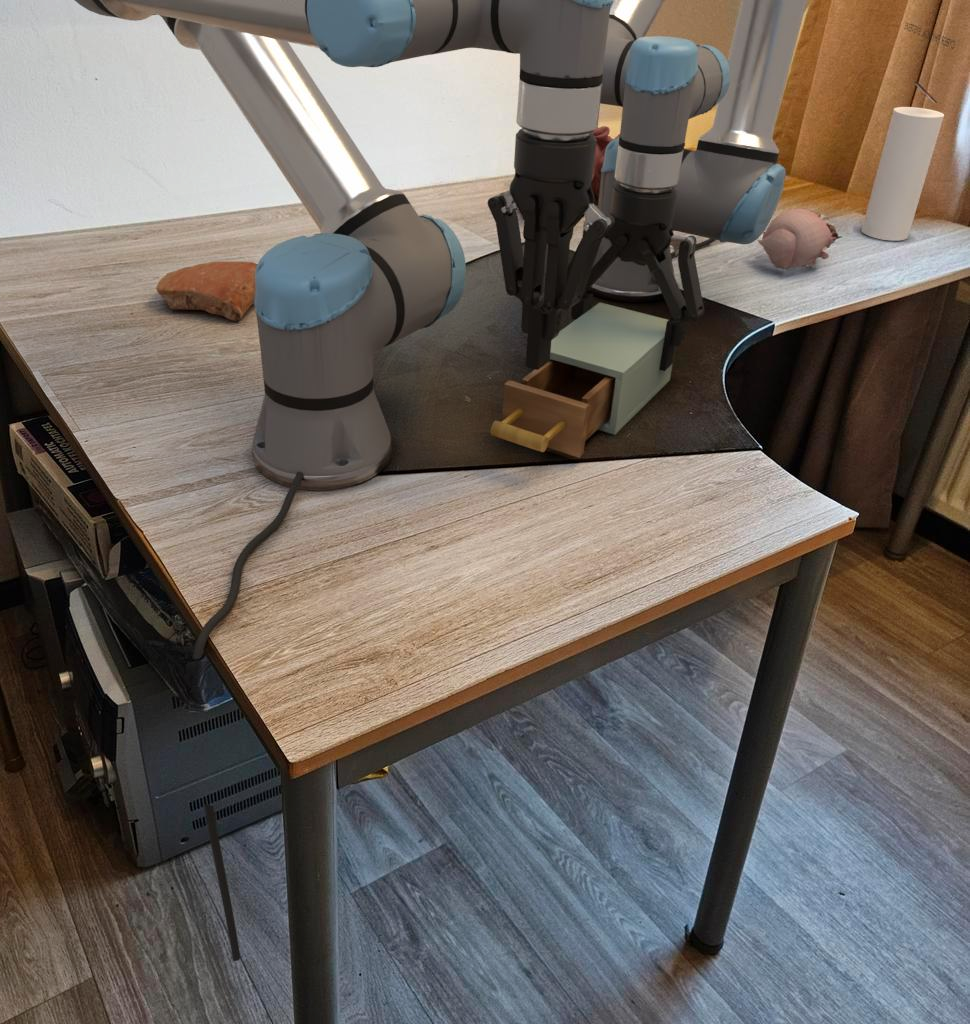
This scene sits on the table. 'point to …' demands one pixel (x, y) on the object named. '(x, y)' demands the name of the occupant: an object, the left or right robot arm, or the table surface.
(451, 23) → the left robot arm
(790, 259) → the toy
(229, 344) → the table surface
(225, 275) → the ceramic shard
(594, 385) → the drawer
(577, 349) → the cabinet
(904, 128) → the tall white tube
